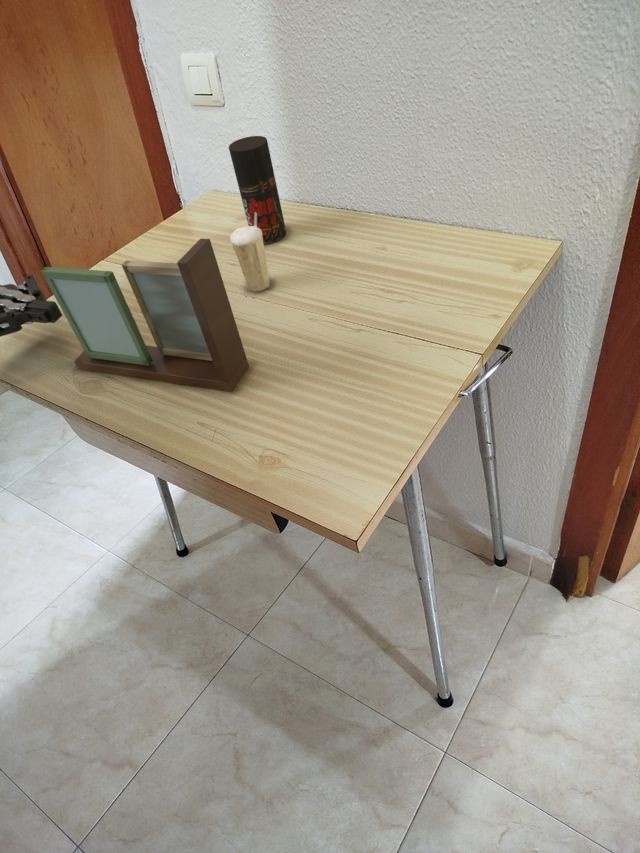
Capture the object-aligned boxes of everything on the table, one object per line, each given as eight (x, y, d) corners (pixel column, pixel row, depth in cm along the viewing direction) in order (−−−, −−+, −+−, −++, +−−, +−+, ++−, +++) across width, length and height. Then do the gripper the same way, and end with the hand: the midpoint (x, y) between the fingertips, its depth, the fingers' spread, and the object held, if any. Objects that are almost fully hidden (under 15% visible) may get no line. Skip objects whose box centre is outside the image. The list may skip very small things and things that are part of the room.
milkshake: (283, 277, 89) (268, 214, 82) (262, 296, 86) (246, 232, 79) (259, 273, 91) (243, 211, 84) (238, 291, 88) (220, 228, 81)
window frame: (78, 369, 80) (11, 252, 68) (99, 347, 83) (39, 231, 71) (231, 392, 71) (186, 263, 59) (249, 366, 74) (210, 238, 62)
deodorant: (244, 240, 99) (220, 148, 89) (268, 224, 102) (247, 134, 92) (270, 247, 96) (248, 153, 86) (293, 230, 99) (274, 137, 89)
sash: (87, 357, 78) (40, 271, 69) (92, 352, 79) (45, 266, 70) (149, 365, 75) (107, 275, 66) (153, 361, 75) (112, 271, 66)
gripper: (-96, 307, 74) (4, 318, 68) (-21, 253, 83) (74, 259, 76) (-60, 354, 79) (36, 368, 73) (7, 299, 88) (98, 308, 82)
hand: (55, 312), depth 75 cm, fingers closed
